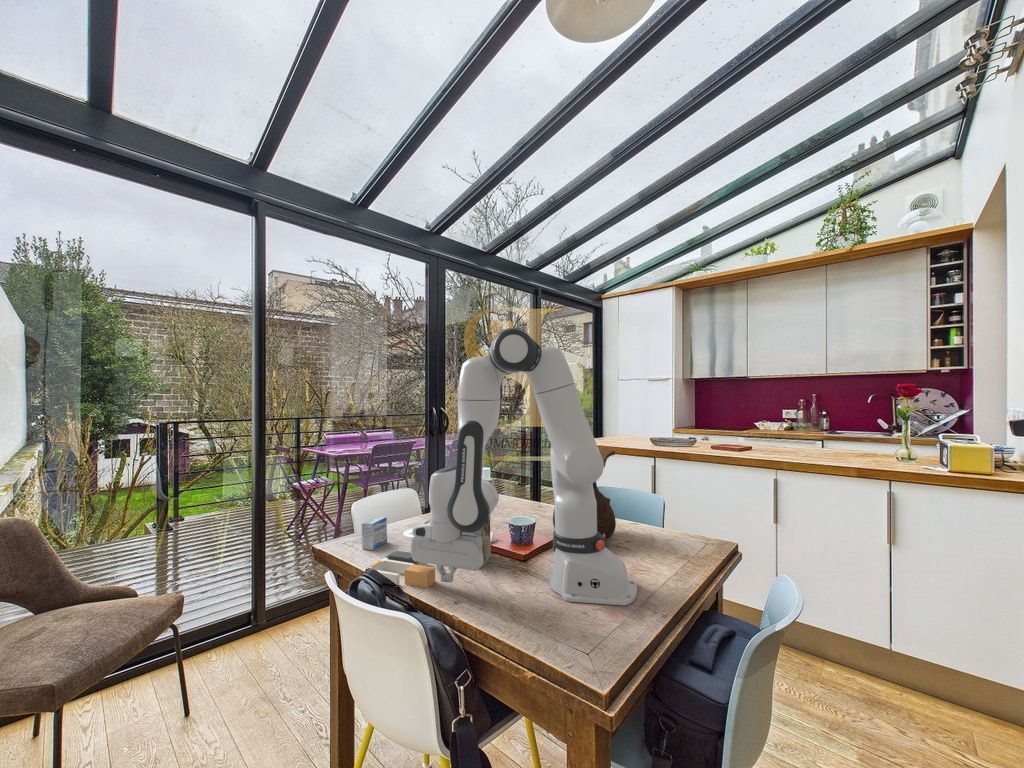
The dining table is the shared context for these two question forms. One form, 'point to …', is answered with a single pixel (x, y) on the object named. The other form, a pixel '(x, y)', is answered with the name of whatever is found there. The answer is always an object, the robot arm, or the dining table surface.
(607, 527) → the jug
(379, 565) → the rack
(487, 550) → the coffee box
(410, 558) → the slate gray rubber brick
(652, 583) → the dining table surface
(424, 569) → the tan wooden block
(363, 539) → the medicine box
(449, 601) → the dining table surface
